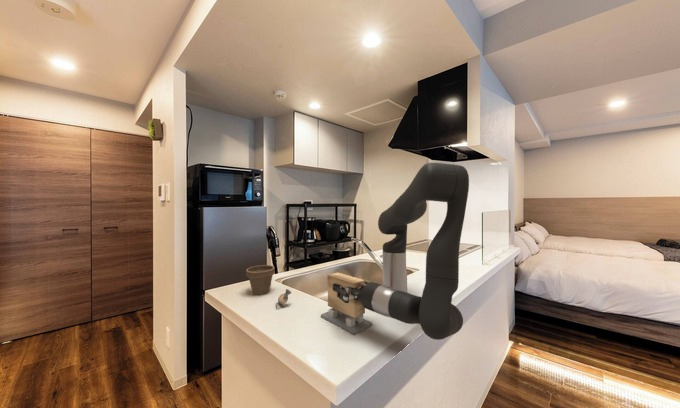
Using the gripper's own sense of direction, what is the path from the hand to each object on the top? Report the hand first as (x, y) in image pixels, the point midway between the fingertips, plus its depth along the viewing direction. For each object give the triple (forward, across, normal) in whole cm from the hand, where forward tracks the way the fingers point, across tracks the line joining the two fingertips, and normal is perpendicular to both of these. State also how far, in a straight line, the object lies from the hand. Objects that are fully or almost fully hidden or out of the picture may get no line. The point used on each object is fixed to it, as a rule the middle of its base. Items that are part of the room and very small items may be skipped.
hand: (339, 284), depth 81 cm
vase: (+21, +8, +11) cm, 25 cm away
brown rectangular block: (-3, 0, +7) cm, 8 cm away
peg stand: (-2, 0, +11) cm, 11 cm away
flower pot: (+40, +8, +11) cm, 42 cm away
